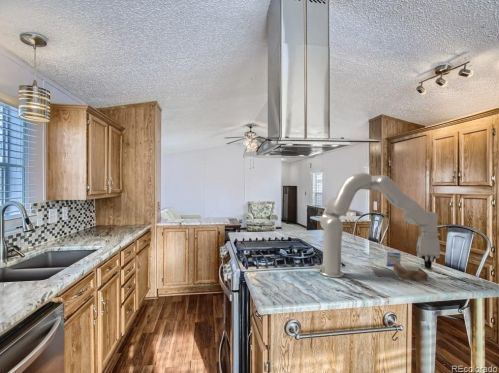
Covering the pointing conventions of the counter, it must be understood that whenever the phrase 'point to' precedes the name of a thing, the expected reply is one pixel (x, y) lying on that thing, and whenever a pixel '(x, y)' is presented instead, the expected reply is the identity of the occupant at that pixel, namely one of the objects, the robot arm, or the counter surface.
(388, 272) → the mat
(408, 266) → the card
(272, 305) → the counter surface
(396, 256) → the medicine box
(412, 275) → the brown curved piece
